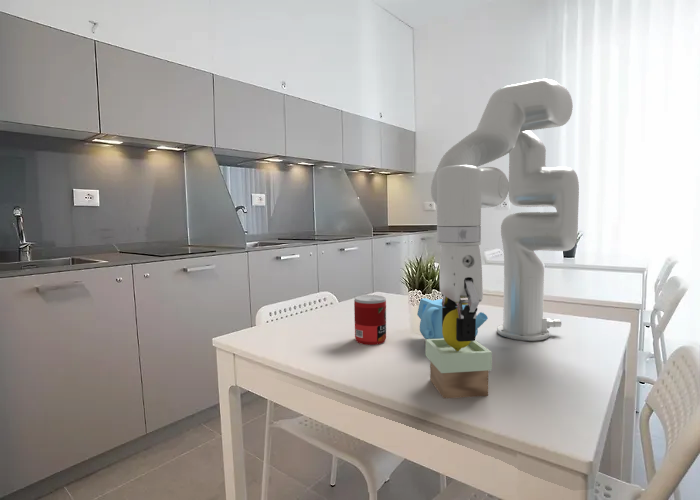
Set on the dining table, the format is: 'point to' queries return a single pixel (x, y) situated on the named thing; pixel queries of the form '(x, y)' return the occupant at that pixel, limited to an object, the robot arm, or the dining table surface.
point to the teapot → (437, 318)
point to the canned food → (370, 319)
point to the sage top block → (458, 356)
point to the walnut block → (460, 383)
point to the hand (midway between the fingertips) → (457, 333)
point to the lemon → (452, 331)
